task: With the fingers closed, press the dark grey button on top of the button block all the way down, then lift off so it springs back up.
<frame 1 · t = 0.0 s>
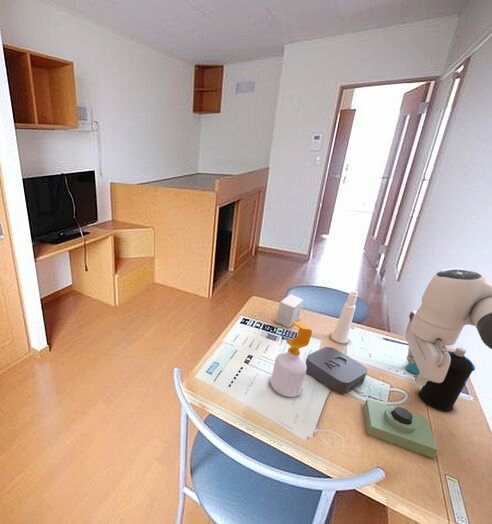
hand: (414, 372, 82), 18 cm above the table, tool pointing down, fingers open, 8 cm apart
button block: (395, 430, 86), on the table
dark grey button: (402, 415, 84), point 6 cm above the table, slide at 0.1 cm
streaming box: (332, 375, 105), on the table
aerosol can: (434, 401, 95), on the table
soap bottle: (284, 387, 100), on the table
tube: (415, 371, 108), on the table
cosmetic bottle: (339, 339, 124), on the table
cosmetics box: (287, 321, 136), on the table
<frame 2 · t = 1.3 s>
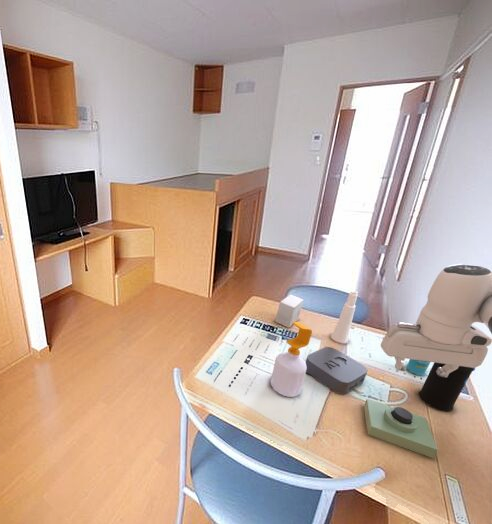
hand: (419, 372, 79), 20 cm above the table, tool pointing down, fingers open, 8 cm apart
nothing on the table moved.
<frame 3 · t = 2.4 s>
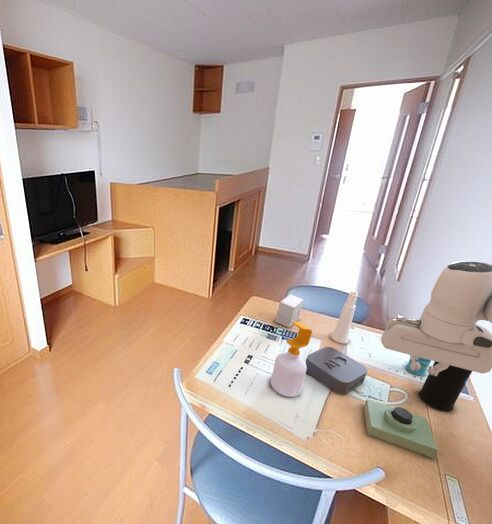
hand: (422, 371, 78), 21 cm above the table, tool pointing down, fingers closed
nothing on the table moved.
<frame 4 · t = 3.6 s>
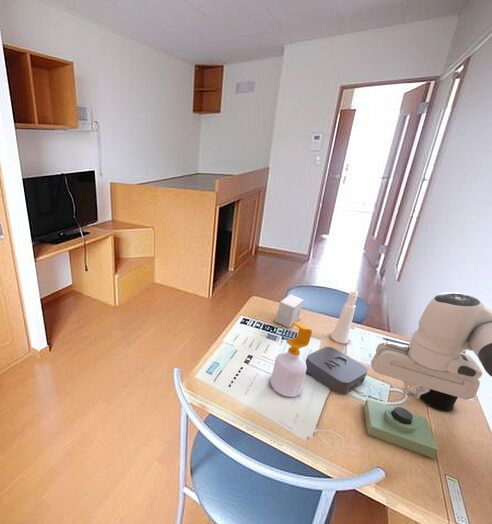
hand: (410, 395, 81), 13 cm above the table, tool pointing down, fingers closed
nothing on the table moved.
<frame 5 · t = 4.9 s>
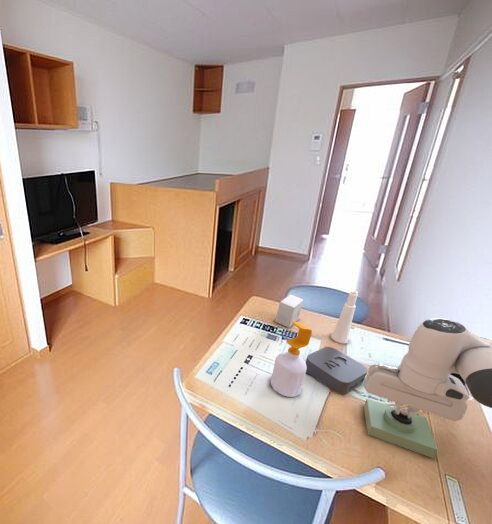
hand: (401, 414, 84), 6 cm above the table, tool pointing down, fingers closed, pressing on dark grey button
dark grey button: (401, 417, 84), point 5 cm above the table, slide at -0.8 cm, touching gripper
everything else where it was.
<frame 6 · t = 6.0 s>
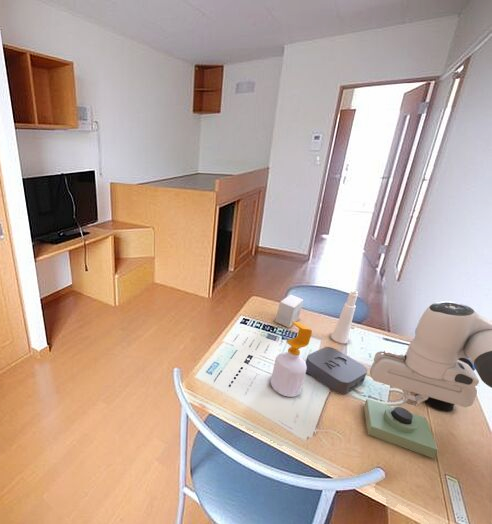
hand: (409, 402, 82), 11 cm above the table, tool pointing down, fingers closed
dark grey button: (402, 415, 84), point 6 cm above the table, slide at 0.1 cm
everything else where it was.
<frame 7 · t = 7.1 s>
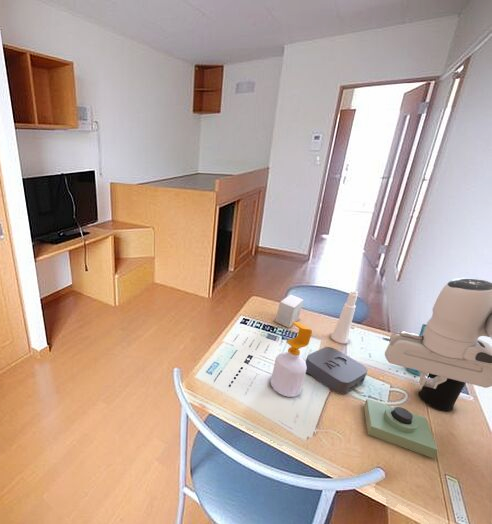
hand: (427, 385, 79), 17 cm above the table, tool pointing down, fingers closed
nothing on the table moved.
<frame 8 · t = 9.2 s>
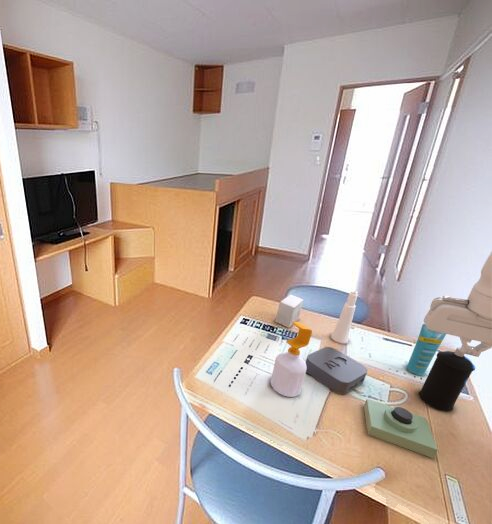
hand: (468, 353, 75), 27 cm above the table, tool pointing down, fingers closed
nothing on the table moved.
at the end: dark grey button pushed in 1.1 cm at the most during the clip, back to where it started at the end; dark grey button slide at 0.1 cm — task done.
